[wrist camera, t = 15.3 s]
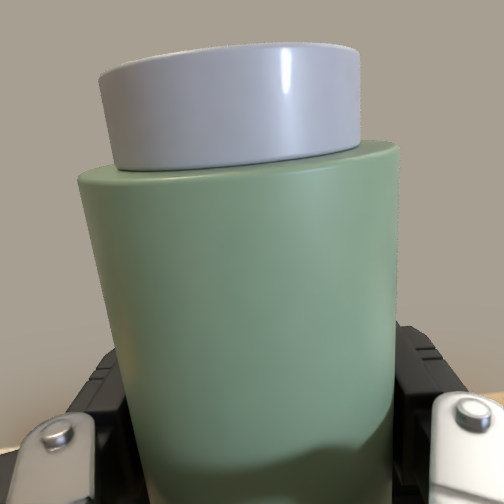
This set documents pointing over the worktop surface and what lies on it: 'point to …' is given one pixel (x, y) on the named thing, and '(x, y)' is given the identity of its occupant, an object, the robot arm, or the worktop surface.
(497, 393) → the worktop surface
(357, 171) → the water bottle
